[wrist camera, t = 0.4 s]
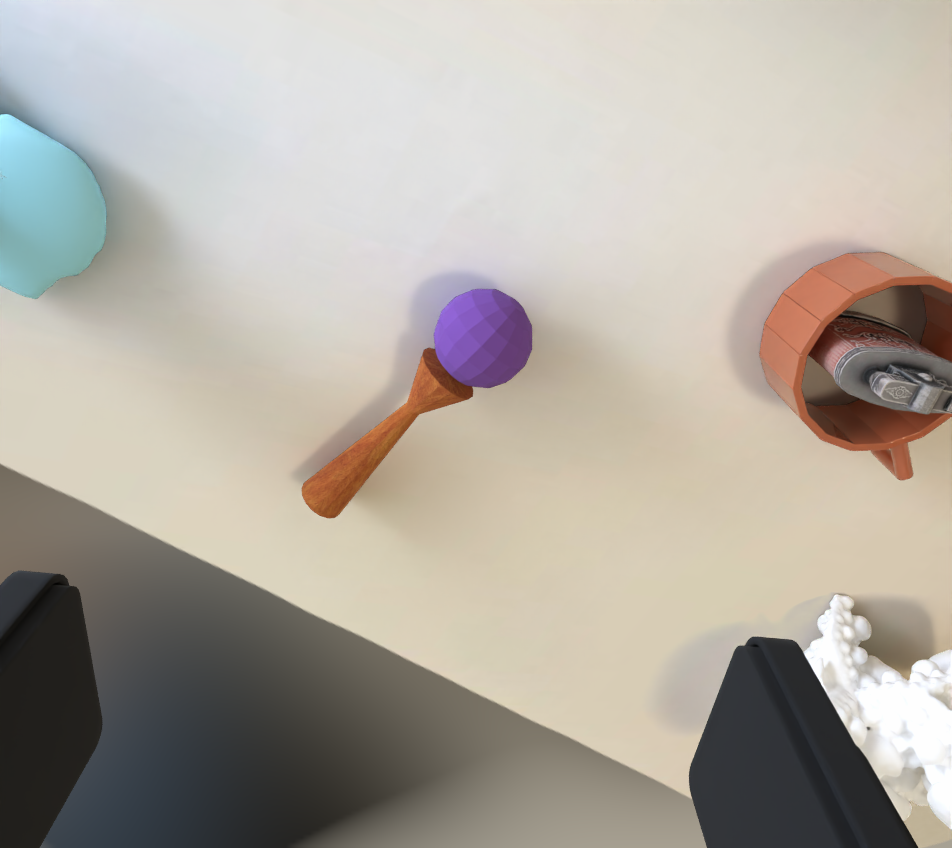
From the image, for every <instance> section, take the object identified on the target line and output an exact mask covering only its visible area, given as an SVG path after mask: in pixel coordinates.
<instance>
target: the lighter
mask: <svg viewBox="0 0 952 848" xmlns="http://www.w3.org/2000/svg"><path fill="white" fill-rule="evenodd" d="M808 355H809V356H810V357H812V358H813V359H814V360H815V361H816V362H817V363H818V364H820V365H821V366H822V367H823V368H824V369H825V370H826V371H828V372H829V373H830V374H831V375H832V376H833V377H834V380H835V382H836V384H837V385H838V386H839V387H840V388H841V389H843V390H844V391H845V392H847V393H848V394H850V395H853V396H855V397H858V398H860V399H862V400H865V401H867V402H869V403H873V404H876V405H880V406H884V407H887V408H891V409H895V410H902V411H910V412H917V413H921V414H929V413H950V414H952V362H950V361H948V360H946V359H943V358H941V357H939V356H937V355H936V354H934V353H933V352H931V351H929V350H928V349H926V348H925V347H923V346H921V345H920V344H918V343H917V342H915V341H914V340H912V338H911V336H910V335H909V334H908V333H907V332H906V331H904V330H902V329H901V328H899V327H897V326H895V325H892V324H890V323H888V322H886V321H884V320H881V319H879V318H875V317H872V316H869V315H865V314H862V313H858V312H852V311H844V312H842V313H841V314H840V315H839V316H837V317H836V318H835V319H834V320H833V321H831V322H830V323H829V324H828V325H827V326H826V327H825V329H824V330H823V332H822V334H821V335H820V337H819V338H818V340H817V341H816V343H815V345H814V346H813V348H812V349H811V351H810V352H809V354H808Z"/></svg>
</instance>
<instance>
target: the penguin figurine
mask: <svg viewBox="0 0 952 848" xmlns="http://www.w3.org/2000/svg"><path fill="white" fill-rule="evenodd" d="M106 218H107V212H106V204H105V200H104V198H103V195H102V193H101V189H100V187H99V184H98V183H97V181H96V179H95V176H94V174H93V172H92V171H91V170H90V169H89V167H88V166H87V165H86V163H85V162H84V161H83V160H82V159H81V158H80V157H79V156H78V155H77V154H76V153H75V152H73V151H72V150H70V149H69V148H67V147H65V146H64V145H62V144H61V143H59V142H57V141H56V140H54V139H52V138H50V137H49V136H47V135H45V134H43V133H41V132H39V131H38V130H36V129H34V128H32V127H31V126H29V125H27V124H25V123H24V122H22V121H20V120H18V119H17V118H15V117H13V116H11V115H7V114H3V115H0V286H2V287H5V288H7V289H9V290H11V291H13V292H15V293H17V294H20V295H22V296H25V297H29V298H33V299H37V298H38V297H39V296H40V295H41V294H43V293H44V291H45V290H46V289H47V288H49V287H51V286H52V285H53V284H54V283H55V282H56V281H58V280H59V279H60V278H63V277H67V276H76V275H78V274H79V273H81V272H82V271H83V270H85V269H86V268H87V267H88V266H89V265H90V263H91V262H92V260H93V258H94V256H95V255H96V254H97V253H98V252H99V251H101V249H102V247H103V245H104V241H105V237H106Z"/></svg>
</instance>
